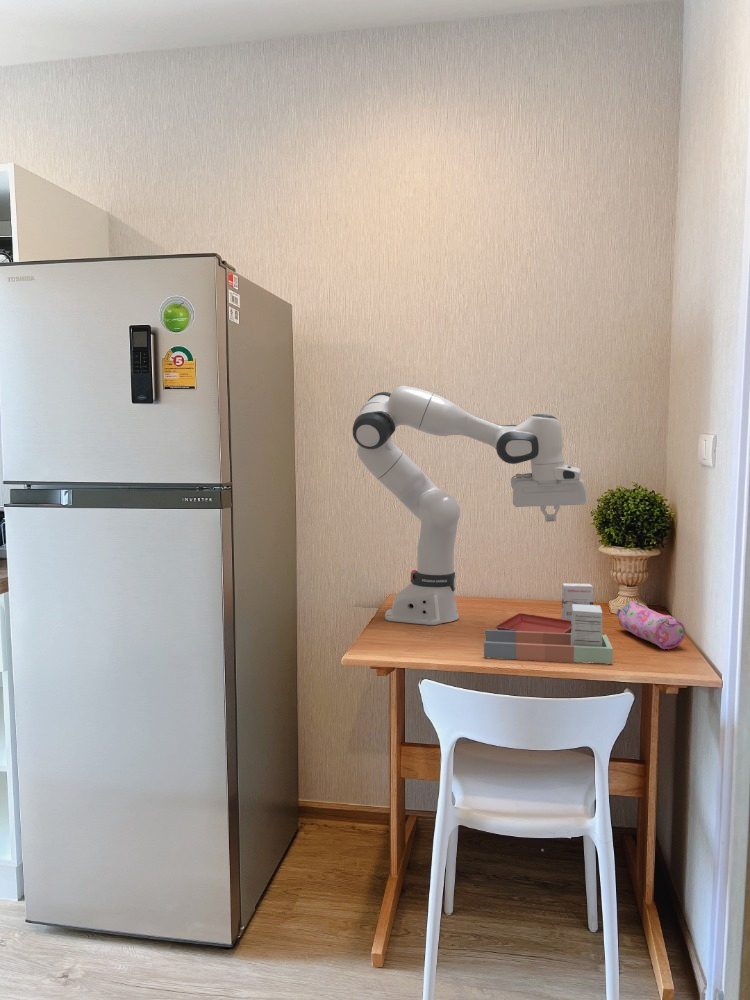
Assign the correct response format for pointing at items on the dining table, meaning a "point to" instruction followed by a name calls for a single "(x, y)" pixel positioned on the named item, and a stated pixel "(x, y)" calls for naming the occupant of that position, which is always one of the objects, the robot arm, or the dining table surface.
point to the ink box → (575, 597)
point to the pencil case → (651, 625)
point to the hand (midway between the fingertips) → (550, 521)
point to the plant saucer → (535, 624)
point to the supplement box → (586, 625)
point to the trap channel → (543, 647)
